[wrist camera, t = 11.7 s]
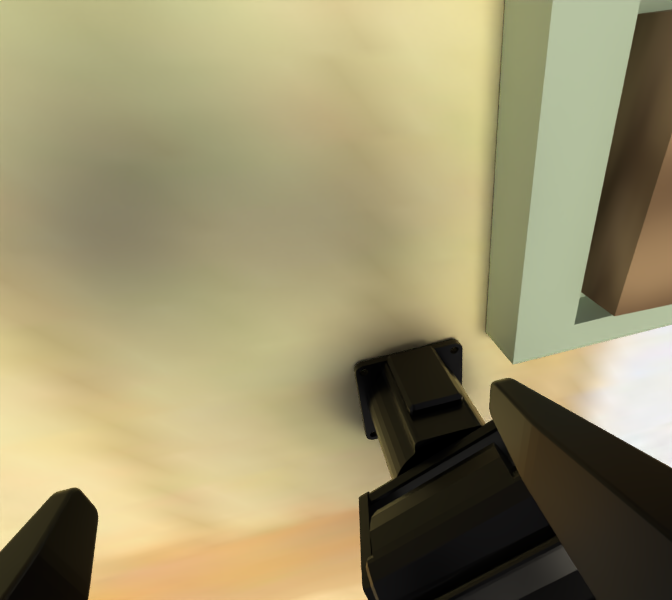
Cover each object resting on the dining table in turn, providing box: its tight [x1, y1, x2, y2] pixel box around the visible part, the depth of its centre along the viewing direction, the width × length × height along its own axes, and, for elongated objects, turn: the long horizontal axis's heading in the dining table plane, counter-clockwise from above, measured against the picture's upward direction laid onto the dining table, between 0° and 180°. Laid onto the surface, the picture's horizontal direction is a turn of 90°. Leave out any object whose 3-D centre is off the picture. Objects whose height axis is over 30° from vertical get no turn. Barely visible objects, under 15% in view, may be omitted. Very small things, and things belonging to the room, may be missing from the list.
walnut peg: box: [581, 9, 672, 316], centre depth 18 cm, size 12×4×4 cm, turn 6°
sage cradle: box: [486, 0, 672, 364], centre depth 19 cm, size 18×12×3 cm, turn 9°
